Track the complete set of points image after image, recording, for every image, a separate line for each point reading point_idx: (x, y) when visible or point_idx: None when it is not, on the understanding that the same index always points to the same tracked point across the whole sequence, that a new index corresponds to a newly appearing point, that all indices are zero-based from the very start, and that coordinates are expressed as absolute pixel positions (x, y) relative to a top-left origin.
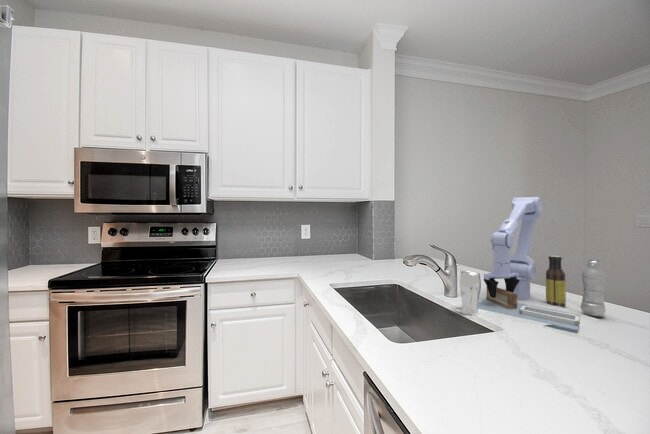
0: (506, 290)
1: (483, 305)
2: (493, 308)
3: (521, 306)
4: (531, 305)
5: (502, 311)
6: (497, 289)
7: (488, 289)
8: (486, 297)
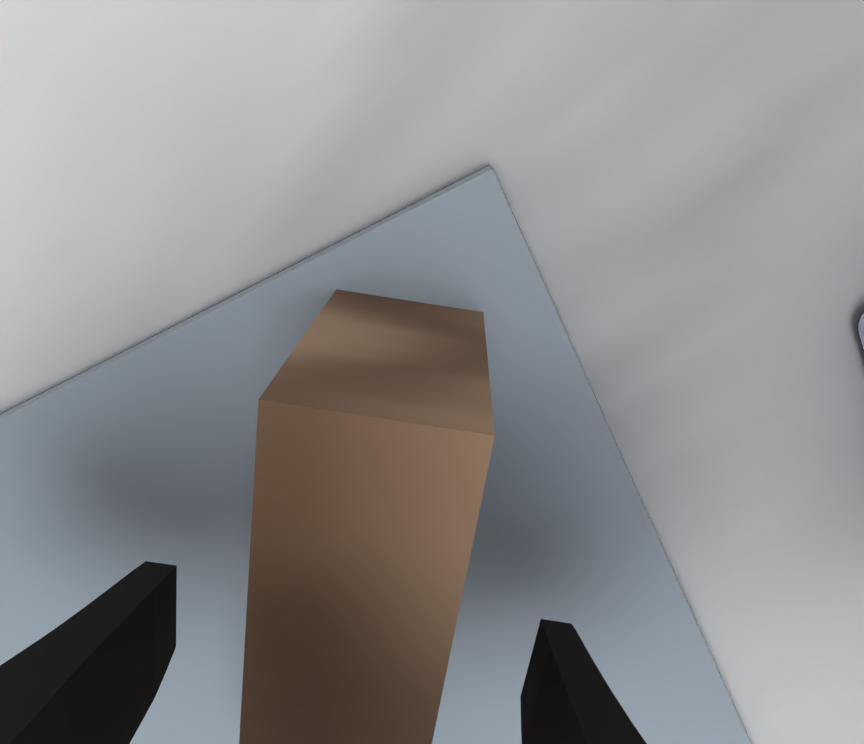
0: (561, 699)
1: (25, 508)
2: None
3: None
4: (741, 733)
5: None
6: (281, 705)
7: (27, 657)
8: (329, 300)
